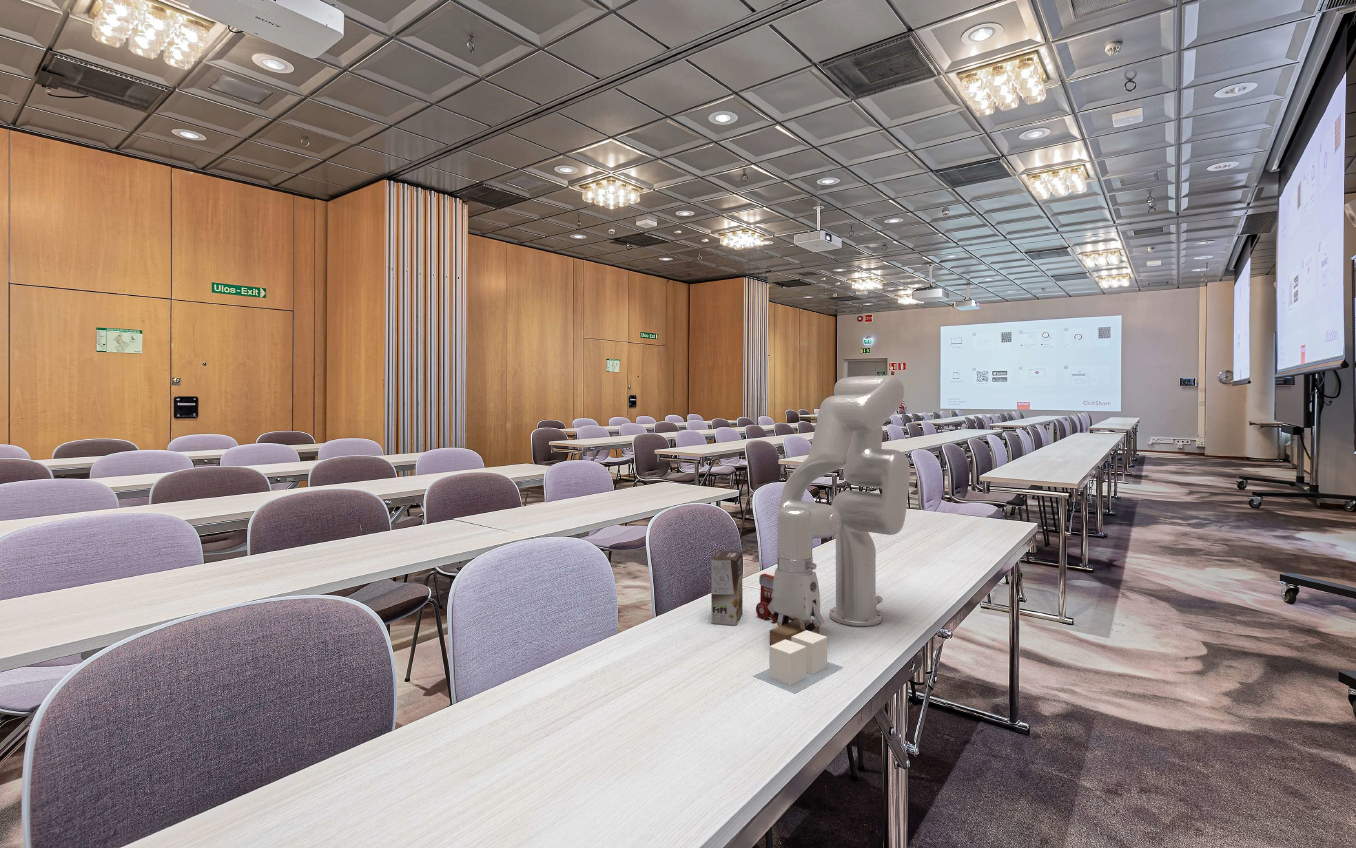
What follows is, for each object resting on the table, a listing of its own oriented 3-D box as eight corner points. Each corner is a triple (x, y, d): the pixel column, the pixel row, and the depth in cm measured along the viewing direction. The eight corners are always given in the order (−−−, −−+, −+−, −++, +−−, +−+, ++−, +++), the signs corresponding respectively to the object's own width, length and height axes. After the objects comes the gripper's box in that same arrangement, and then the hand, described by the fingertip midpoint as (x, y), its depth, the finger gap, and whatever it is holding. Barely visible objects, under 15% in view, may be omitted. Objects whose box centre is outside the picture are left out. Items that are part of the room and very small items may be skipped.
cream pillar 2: (806, 659, 127) (806, 630, 127) (827, 666, 123) (827, 636, 123) (791, 666, 123) (791, 636, 123) (812, 674, 120) (812, 643, 119)
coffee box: (736, 626, 149) (736, 560, 148) (710, 624, 150) (710, 558, 150) (743, 613, 157) (742, 551, 157) (718, 611, 159) (718, 549, 159)
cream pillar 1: (785, 669, 122) (785, 639, 122) (806, 677, 118) (806, 646, 118) (769, 677, 119) (769, 646, 118) (790, 685, 115) (790, 653, 115)
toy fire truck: (787, 629, 146) (787, 586, 146) (751, 615, 156) (750, 574, 156) (807, 622, 151) (807, 580, 150) (770, 609, 160) (770, 570, 160)
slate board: (802, 657, 130) (802, 652, 130) (843, 672, 123) (843, 667, 123) (752, 681, 119) (752, 676, 119) (795, 699, 112) (795, 693, 112)
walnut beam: (802, 638, 141) (802, 616, 140) (819, 643, 137) (819, 621, 137) (769, 653, 132) (769, 630, 132) (786, 659, 129) (786, 635, 129)
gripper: (838, 568, 131) (838, 653, 131) (774, 554, 143) (775, 632, 144) (817, 575, 126) (817, 664, 126) (753, 560, 138) (754, 641, 139)
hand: (795, 646), depth 135 cm, fingers closed on walnut beam, 4 cm apart
